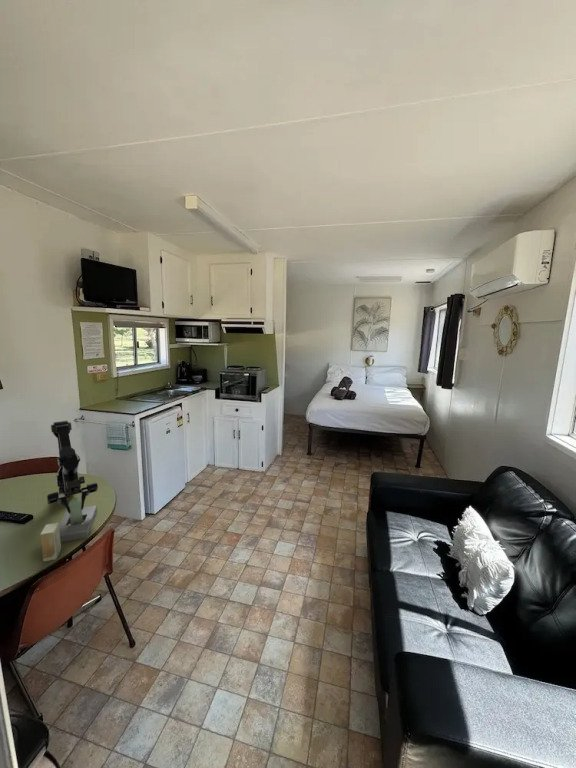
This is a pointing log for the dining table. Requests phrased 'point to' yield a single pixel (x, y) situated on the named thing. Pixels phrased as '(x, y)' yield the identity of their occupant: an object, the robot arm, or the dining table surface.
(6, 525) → the dining table surface
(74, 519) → the sage peg
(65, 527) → the holder block
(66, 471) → the robot arm
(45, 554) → the skincare box
